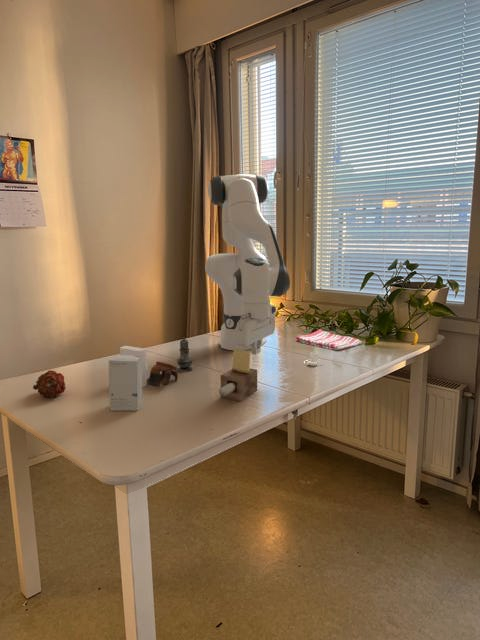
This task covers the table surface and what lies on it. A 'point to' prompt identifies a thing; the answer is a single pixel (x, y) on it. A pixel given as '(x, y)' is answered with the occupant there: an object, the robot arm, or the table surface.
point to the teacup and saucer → (313, 359)
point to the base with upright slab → (144, 367)
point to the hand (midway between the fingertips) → (255, 353)
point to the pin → (228, 388)
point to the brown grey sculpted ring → (164, 377)
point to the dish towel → (328, 340)
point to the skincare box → (125, 383)
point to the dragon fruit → (50, 384)
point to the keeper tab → (241, 361)
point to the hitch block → (240, 384)
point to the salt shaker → (184, 357)
